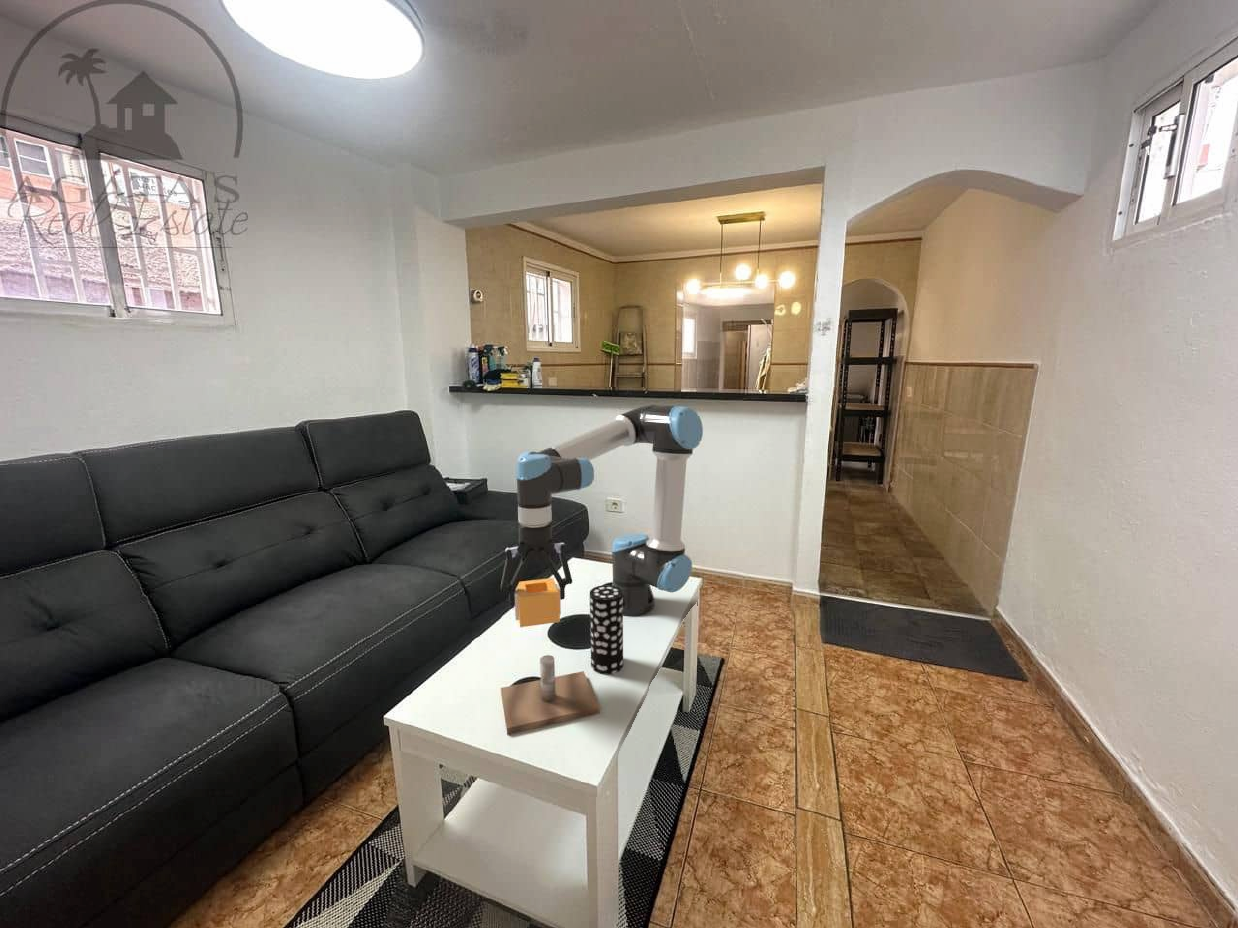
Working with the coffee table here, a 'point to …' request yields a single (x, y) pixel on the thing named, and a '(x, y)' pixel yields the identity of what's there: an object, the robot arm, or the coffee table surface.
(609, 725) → the coffee table surface
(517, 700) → the post board
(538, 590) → the collar
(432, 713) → the coffee table surface
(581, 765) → the coffee table surface
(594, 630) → the white-spotted black cylinder
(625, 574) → the robot arm
